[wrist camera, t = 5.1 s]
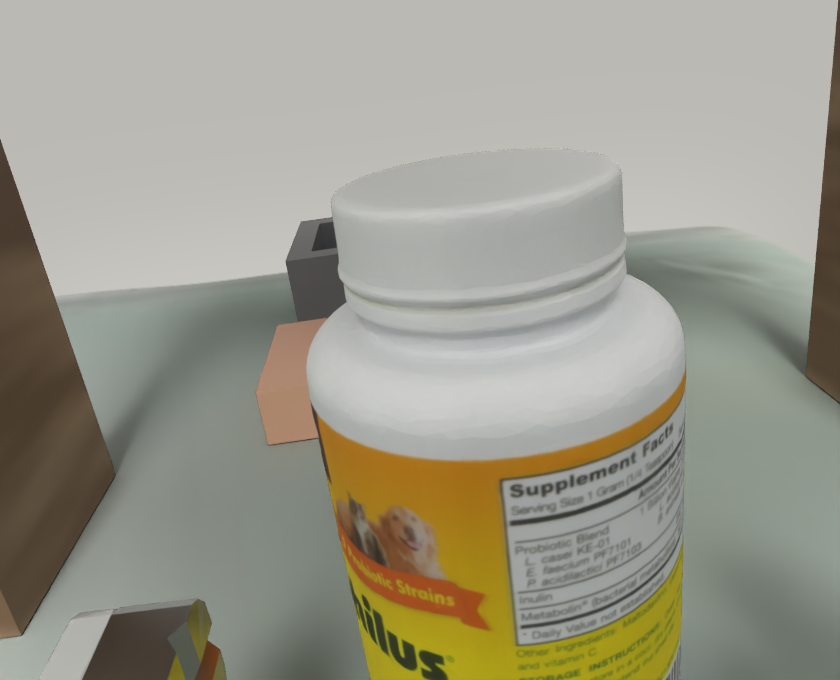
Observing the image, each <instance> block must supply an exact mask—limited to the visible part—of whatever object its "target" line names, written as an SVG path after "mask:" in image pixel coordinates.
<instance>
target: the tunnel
mask: <svg viewBox="0 0 840 680" xmlns="http://www.w3.org/2000/svg"><path fill="white" fill-rule="evenodd" d="M806 377H808V378H809V379H810V380H812V381H813V382H814V383H815V384H817V385H818V386H819V387H820V388H822V389H823V390H824V391H826V392H827V393H828V394H829V395H831V396H832V397H833V398H834V399H836V400H837V401H838V402H840V0H838V11H837V22H836V35H835V45H834V56H833V68H832V79H831V91H830V102H829V114H828V125H827V137H826V148H825V160H824V171H823V183H822V194H821V205H820V217H819V228H818V240H817V251H816V262H815V274H814V285H813V297H812V308H811V320H810V331H809V342H808V354H807V365H806ZM115 475H116V474H115V471H114V468H113V465H112V462H111V459H110V456H109V453H108V450H107V447H106V445H105V442H104V439H103V436H102V433H101V430H100V427H99V424H98V421H97V418H96V416H95V413H94V410H93V407H92V404H91V401H90V398H89V395H88V392H87V389H86V387H85V384H84V381H83V378H82V375H81V372H80V369H79V366H78V363H77V360H76V358H75V355H74V352H73V349H72V346H71V343H70V340H69V337H68V334H67V332H66V329H65V326H64V323H63V320H62V317H61V314H60V311H59V308H58V305H57V303H56V300H55V297H54V294H53V291H52V288H51V285H50V282H49V279H48V277H47V274H46V271H45V268H44V265H43V262H42V259H41V256H40V253H39V250H38V247H37V245H36V242H35V239H34V236H33V233H32V230H31V227H30V224H29V221H28V219H27V216H26V213H25V210H24V207H23V204H22V201H21V198H20V196H19V192H18V189H17V187H16V184H15V181H14V178H13V175H12V172H11V169H10V166H9V164H8V161H7V158H6V155H5V152H4V149H3V146H2V143H1V140H0V638H6V637H13V636H20V635H22V633H23V631H24V630H25V628H26V626H27V625H28V623H29V621H30V619H31V618H32V616H33V614H34V613H35V611H36V609H37V607H38V606H39V604H40V602H41V601H42V599H43V597H44V596H45V594H46V592H47V590H48V589H49V587H50V585H51V584H52V582H53V580H54V579H55V577H56V575H57V573H58V572H59V570H60V568H61V567H62V565H63V563H64V562H65V560H66V558H67V556H68V555H69V553H70V551H71V550H72V548H73V546H74V544H75V543H76V541H77V539H78V538H79V536H80V534H81V533H82V531H83V529H84V527H85V526H86V524H87V522H88V521H89V519H90V517H91V516H92V514H93V512H94V510H95V509H96V507H97V505H98V504H99V502H100V500H101V498H102V497H103V495H104V493H105V492H106V490H107V488H108V487H109V485H110V483H111V481H112V480H113V478H114V476H115Z"/></svg>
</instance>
